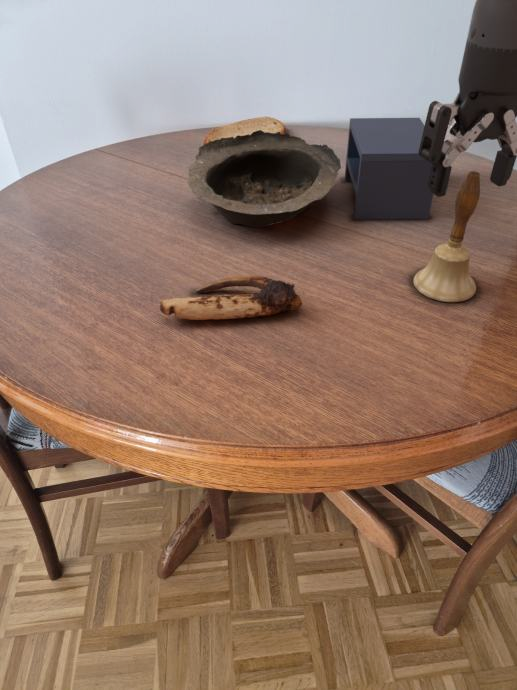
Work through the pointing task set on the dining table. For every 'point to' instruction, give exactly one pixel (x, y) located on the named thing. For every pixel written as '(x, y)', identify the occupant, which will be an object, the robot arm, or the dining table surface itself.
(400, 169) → the shelf
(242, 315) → the lashed bone hook
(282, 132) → the bread slice
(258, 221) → the stone bowl
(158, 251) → the dining table surface
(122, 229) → the dining table surface
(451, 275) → the hand bell
